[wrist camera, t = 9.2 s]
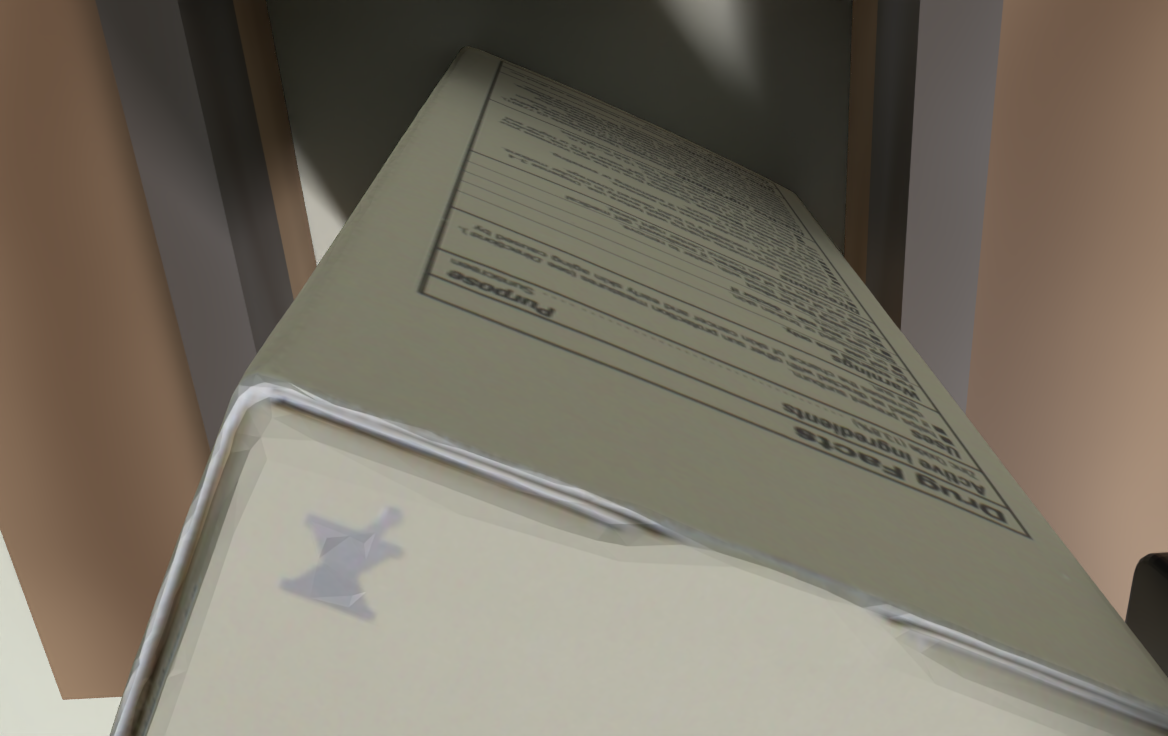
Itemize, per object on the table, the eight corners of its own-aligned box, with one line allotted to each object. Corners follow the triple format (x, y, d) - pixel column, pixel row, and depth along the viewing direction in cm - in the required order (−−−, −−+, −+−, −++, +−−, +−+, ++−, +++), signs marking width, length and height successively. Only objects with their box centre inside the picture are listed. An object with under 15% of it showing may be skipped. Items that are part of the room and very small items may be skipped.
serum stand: (1319, -392, 14) (1541, -482, 10) (1137, 592, 20) (1239, 721, 17) (-209, -256, 14) (-438, -302, 11) (97, 647, 21) (8, 781, 18)
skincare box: (371, 272, 18) (-10, 909, 6) (464, 32, 16) (165, 334, 5) (704, 411, 19) (869, 1165, 8) (824, 199, 17) (1262, 764, 6)
